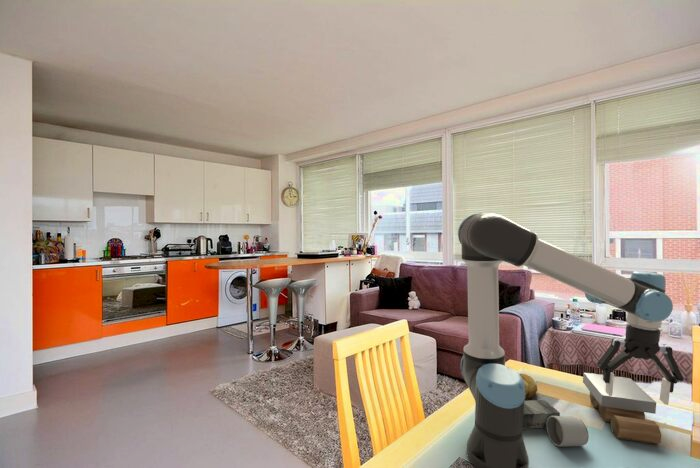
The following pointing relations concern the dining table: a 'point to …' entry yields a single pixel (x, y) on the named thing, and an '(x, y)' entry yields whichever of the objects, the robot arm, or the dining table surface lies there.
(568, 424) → the ceramic mug
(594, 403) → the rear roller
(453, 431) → the dining table surface
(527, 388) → the bread roll
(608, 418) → the front roller
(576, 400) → the dining table surface
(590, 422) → the dining table surface
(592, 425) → the dining table surface
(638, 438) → the loose roller
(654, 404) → the slab
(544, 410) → the stone block
